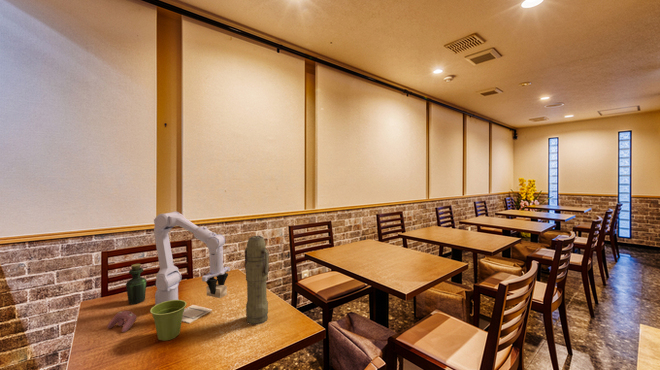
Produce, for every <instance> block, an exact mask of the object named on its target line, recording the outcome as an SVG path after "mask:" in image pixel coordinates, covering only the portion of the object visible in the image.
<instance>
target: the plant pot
mask: <svg viewBox="0 0 660 370" xmlns="http://www.w3.org/2000/svg"><path fill="white" fill-rule="evenodd" d="M186 306H187V302H186V301H185V300H184V299H183V300H182V299H178V300H170V301H165V302H162V303H159V304H157V305H155V304H154V306H152V307H151V308H150V310H149V312H150V313H151V314H152V319H153V320H154V325H155V330H156V336H157V339H158V340H159V341H163V342H164V341H170V340H173V339H175V338H176V337H177V336H179V335H180V333H181V328H182V317H183V312H184V309H186Z"/></svg>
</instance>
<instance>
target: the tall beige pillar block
mask: <svg viewBox="0 0 660 370" xmlns="http://www.w3.org/2000/svg"><path fill="white" fill-rule="evenodd" d="M227 295H228V286H227V285H225V284H224V285H219V284H218V283H216V293H215V294H211V293H210V289H209V287H208V285H207V286H206V296H207V297H212V298H217V299H222V298H224V297H225V296H227Z"/></svg>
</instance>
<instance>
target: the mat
mask: <svg viewBox="0 0 660 370" xmlns="http://www.w3.org/2000/svg"><path fill="white" fill-rule="evenodd" d="M212 311H213V309H212V308H207V307H204V306H200V305H195V304H191V305H190V306H188V307H185V308H184V312H183V317H182V322H183V323H186V324H191V323H193V322H195V321H196V320H198V319H199V318H201V317H203V316H204V315H207V314H208V313H210V312H212Z"/></svg>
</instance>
